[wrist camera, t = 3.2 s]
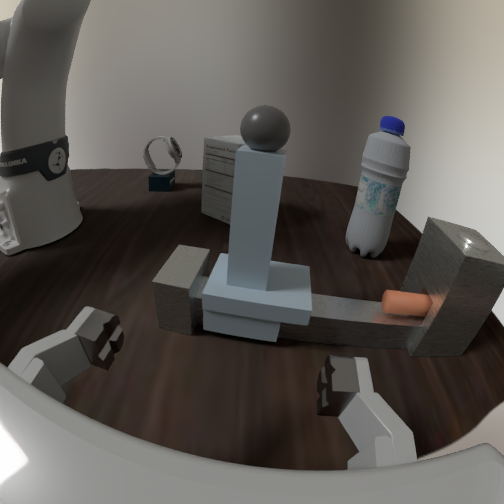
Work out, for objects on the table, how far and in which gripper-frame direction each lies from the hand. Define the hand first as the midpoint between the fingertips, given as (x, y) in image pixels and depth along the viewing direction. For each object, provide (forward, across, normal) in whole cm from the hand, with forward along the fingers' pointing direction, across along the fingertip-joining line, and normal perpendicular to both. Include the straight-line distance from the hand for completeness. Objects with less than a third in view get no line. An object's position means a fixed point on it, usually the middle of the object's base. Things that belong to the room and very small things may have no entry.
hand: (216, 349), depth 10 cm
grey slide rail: (+13, +8, -9) cm, 18 cm away
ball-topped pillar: (+12, +1, -9) cm, 15 cm away
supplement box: (+36, -6, -10) cm, 37 cm away
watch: (+46, -23, -10) cm, 52 cm away
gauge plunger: (+12, +16, -6) cm, 20 cm away
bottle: (+30, +15, -10) cm, 35 cm away
